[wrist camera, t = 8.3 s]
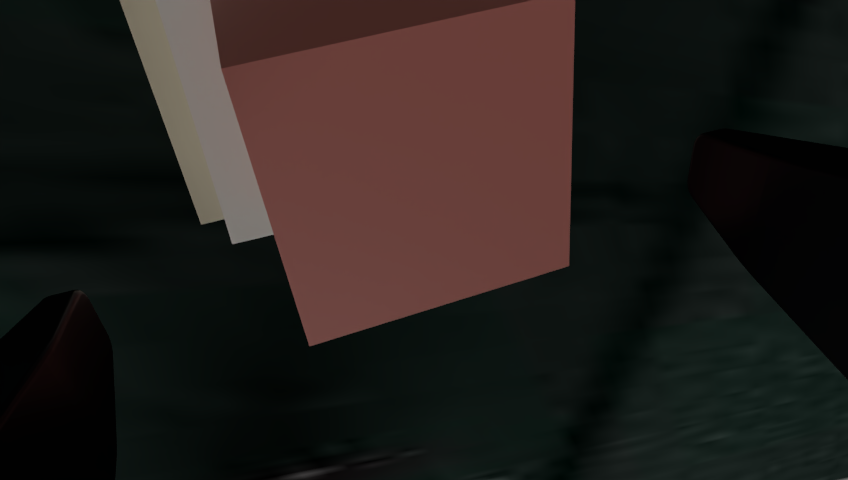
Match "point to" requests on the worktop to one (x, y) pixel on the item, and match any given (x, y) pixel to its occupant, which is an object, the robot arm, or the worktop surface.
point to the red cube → (404, 146)
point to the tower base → (172, 104)
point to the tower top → (214, 116)
